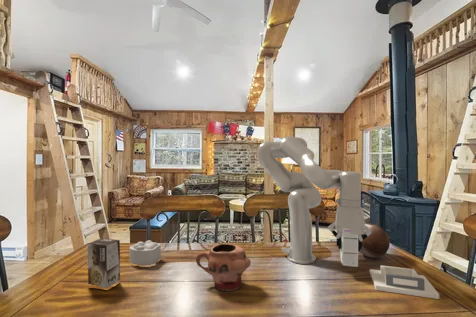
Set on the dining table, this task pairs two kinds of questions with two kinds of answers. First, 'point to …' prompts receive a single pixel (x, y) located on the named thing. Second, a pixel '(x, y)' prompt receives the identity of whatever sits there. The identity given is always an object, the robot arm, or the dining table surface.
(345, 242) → the syrup box
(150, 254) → the lumpy-topped squat cylinder
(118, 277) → the coffee box
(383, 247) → the wooden sphere
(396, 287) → the shelf bay
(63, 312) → the dining table surface
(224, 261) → the sculpted clay mug
